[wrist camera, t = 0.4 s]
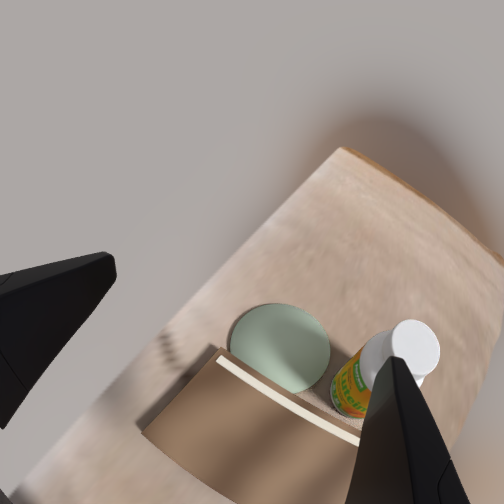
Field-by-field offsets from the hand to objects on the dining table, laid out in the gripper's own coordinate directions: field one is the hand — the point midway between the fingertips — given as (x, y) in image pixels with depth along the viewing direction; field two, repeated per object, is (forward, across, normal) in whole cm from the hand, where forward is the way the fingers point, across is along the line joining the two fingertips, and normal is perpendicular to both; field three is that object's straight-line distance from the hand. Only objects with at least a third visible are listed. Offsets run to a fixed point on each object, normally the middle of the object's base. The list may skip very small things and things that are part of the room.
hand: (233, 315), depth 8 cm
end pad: (+12, -1, +14) cm, 18 cm away
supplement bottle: (+10, -9, +15) cm, 20 cm away
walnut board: (+3, -3, +16) cm, 17 cm away
